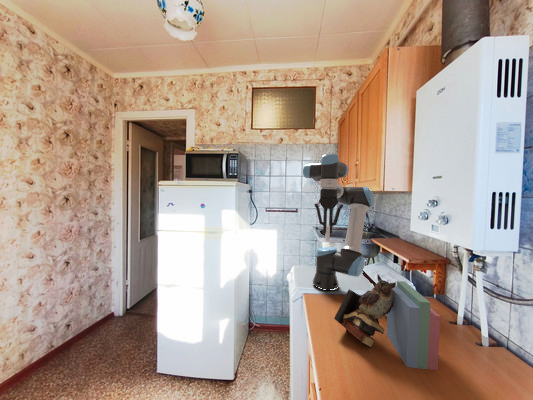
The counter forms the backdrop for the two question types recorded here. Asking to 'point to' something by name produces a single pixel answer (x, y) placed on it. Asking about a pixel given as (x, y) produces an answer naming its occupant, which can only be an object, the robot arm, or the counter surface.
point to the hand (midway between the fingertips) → (327, 239)
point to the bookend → (366, 311)
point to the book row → (413, 328)
